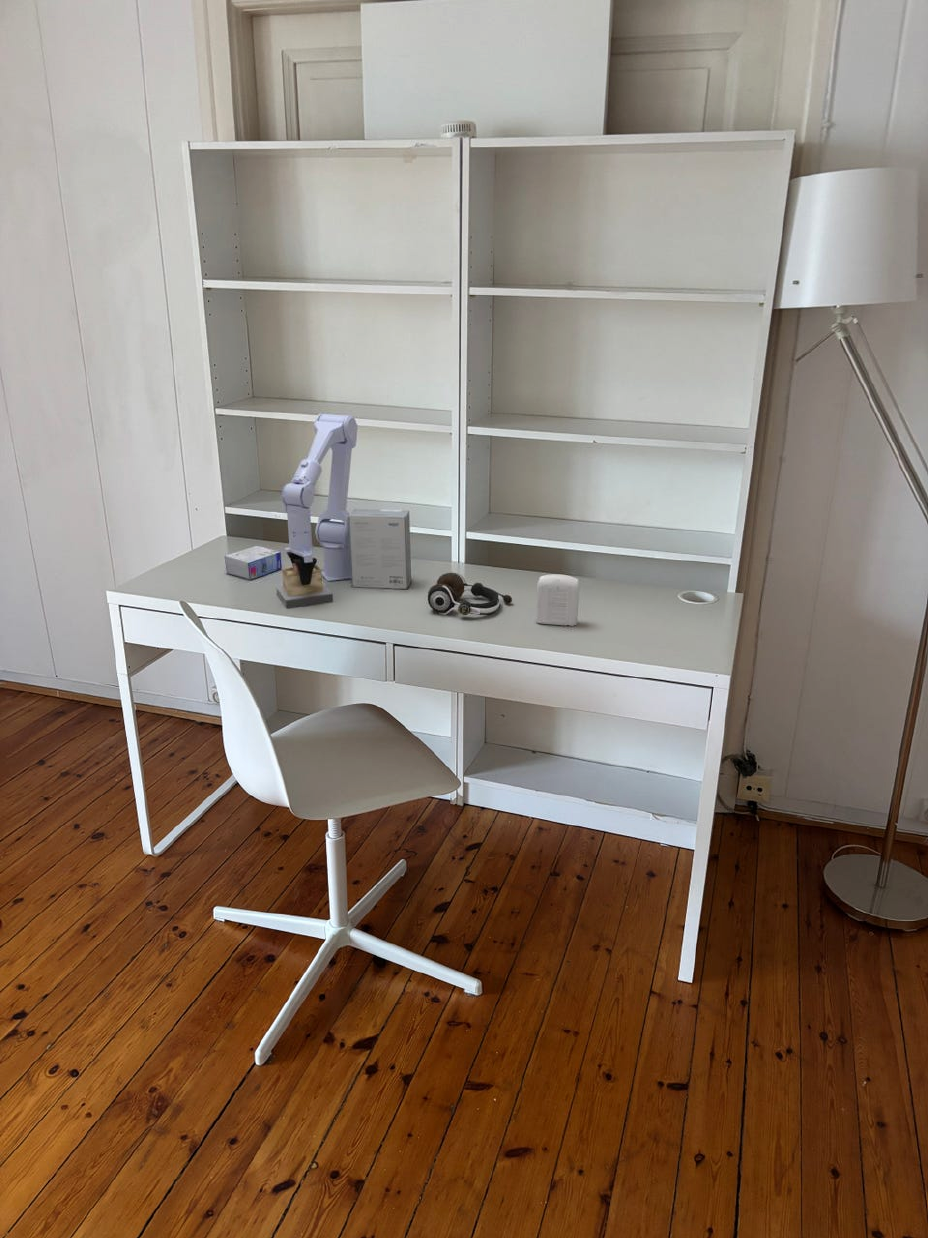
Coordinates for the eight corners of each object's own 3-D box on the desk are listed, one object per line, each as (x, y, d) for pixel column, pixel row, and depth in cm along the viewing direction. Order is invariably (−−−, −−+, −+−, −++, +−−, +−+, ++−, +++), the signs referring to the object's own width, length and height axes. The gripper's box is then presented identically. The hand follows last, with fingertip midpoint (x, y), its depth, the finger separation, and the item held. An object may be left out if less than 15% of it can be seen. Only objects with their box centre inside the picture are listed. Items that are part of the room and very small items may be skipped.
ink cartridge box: (250, 581, 246) (288, 566, 257) (248, 562, 244) (287, 548, 255) (226, 574, 251) (264, 559, 262) (224, 555, 249) (262, 541, 260)
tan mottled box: (317, 585, 238) (316, 564, 235) (322, 591, 233) (321, 570, 231) (283, 589, 234) (282, 568, 232) (288, 596, 230) (287, 574, 227)
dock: (321, 588, 241) (320, 581, 240) (332, 601, 232) (332, 594, 231) (276, 594, 236) (276, 587, 236) (287, 608, 227) (286, 601, 227)
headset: (443, 564, 236) (517, 581, 233) (439, 591, 239) (512, 608, 236) (425, 585, 220) (504, 604, 217) (421, 614, 223) (499, 633, 220)
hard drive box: (412, 580, 247) (410, 509, 240) (407, 590, 240) (406, 517, 233) (356, 577, 249) (353, 507, 241) (350, 587, 242) (347, 515, 234)
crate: (306, 569, 234) (305, 561, 233) (309, 573, 231) (309, 565, 230) (293, 570, 232) (292, 563, 231) (296, 574, 229) (296, 567, 229)
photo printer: (577, 620, 221) (580, 573, 216) (577, 627, 217) (579, 579, 213) (536, 618, 223) (537, 570, 218) (534, 624, 219) (536, 576, 214)
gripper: (277, 524, 232) (281, 574, 237) (291, 539, 220) (294, 592, 225) (304, 521, 235) (307, 571, 240) (319, 536, 223) (322, 588, 228)
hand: (303, 581), depth 233 cm, fingers open, 5 cm apart
